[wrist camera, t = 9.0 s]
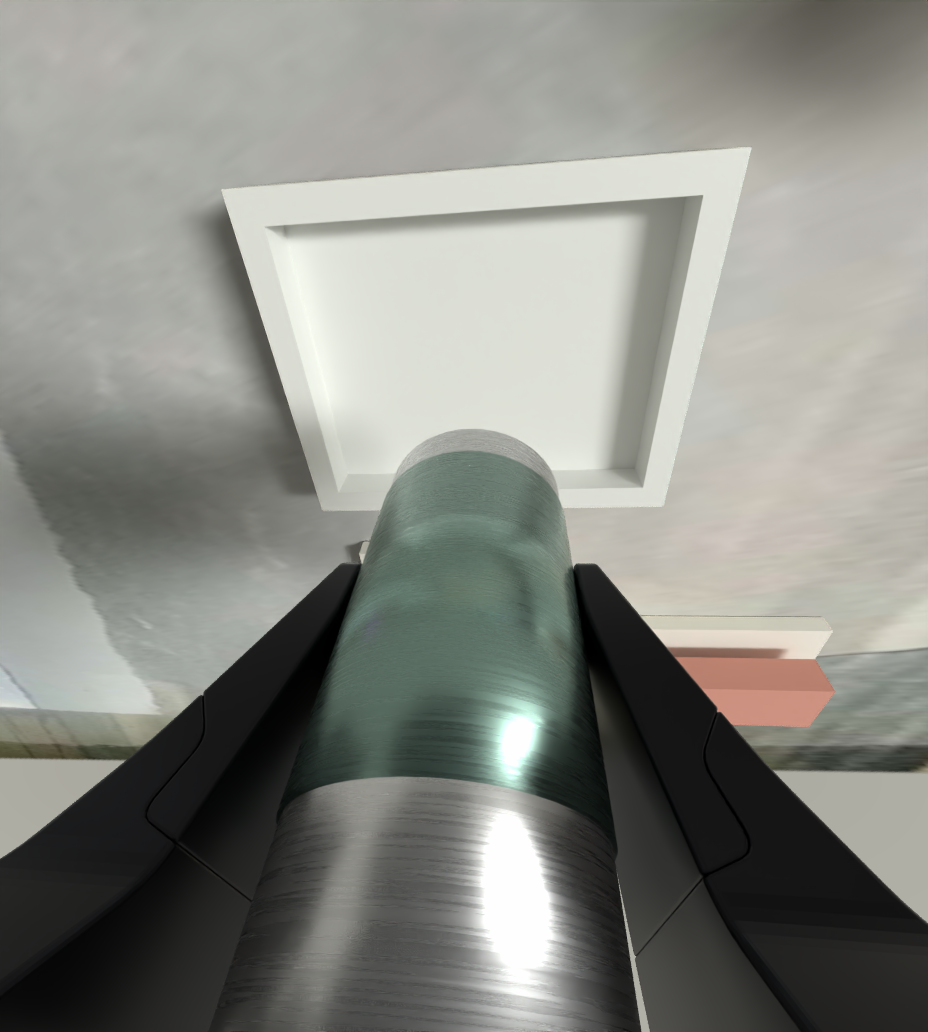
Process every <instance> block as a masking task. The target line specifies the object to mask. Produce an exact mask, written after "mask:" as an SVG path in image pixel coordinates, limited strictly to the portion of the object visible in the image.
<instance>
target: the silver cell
mask: <svg viewBox="0 0 928 1032" xmlns="http://www.w3.org/2000/svg"><path fill="white" fill-rule="evenodd" d="M276 823H277V828H276V831H275V834H274V837H273V840H272V843H271V846H270V849H269V852H268V855H267V858H266V861H265V864H264V867H263V870H262V873H261V876H260V879H259V882H258V885H257V888H256V891H255V894H254V896H253V899H252V902H251V905H250V908H249V911H248V914H247V917H246V920H245V923H244V926H243V929H242V932H241V935H240V938H239V941H238V944H237V947H236V950H235V953H234V956H233V959H232V962H231V965H230V968H229V971H228V974H227V977H226V980H225V983H224V986H223V989H222V992H221V995H220V998H219V1001H218V1004H217V1007H216V1010H215V1013H214V1016H213V1019H212V1022H211V1025H210V1028H209V1031H208V1032H641V1026H640V1020H639V1013H638V1007H637V1000H636V994H635V987H634V981H633V974H632V968H631V961H630V955H629V948H628V942H627V935H626V929H625V922H624V916H623V909H622V903H621V896H620V890H619V883H618V876H617V870H616V863H615V860H616V857H617V854H618V847H617V840H616V834H615V828H614V821H613V815H612V809H611V803H610V797H609V790H608V784H607V778H606V772H605V765H604V759H603V753H602V747H601V740H600V734H599V728H598V722H597V715H596V709H595V703H594V697H593V691H592V684H591V678H590V672H589V666H588V659H587V653H586V647H585V641H584V634H583V628H582V622H581V616H580V609H579V603H578V597H577V591H576V585H575V578H574V572H573V566H572V560H571V553H570V547H569V541H568V535H567V528H566V522H565V516H564V511H563V508H562V505H561V502H560V499H559V493H558V486H557V483H556V480H555V477H554V475H553V473H552V471H551V469H550V467H549V466H548V465H547V463H546V462H545V460H544V459H543V458H542V457H541V456H540V455H539V454H538V453H537V452H536V451H535V450H533V449H532V448H531V447H529V446H528V445H527V444H525V443H523V442H522V441H520V440H518V439H516V438H514V437H511V436H509V435H506V434H503V433H500V432H496V431H491V430H485V429H459V430H454V431H449V432H445V433H442V434H439V435H436V436H434V437H432V438H430V439H427V440H425V441H424V442H422V443H421V444H419V445H418V446H416V447H415V448H414V449H413V450H412V451H411V452H410V453H409V454H408V455H407V456H406V457H405V458H404V460H403V461H402V462H401V464H400V466H399V467H398V469H397V472H396V474H395V476H394V479H393V482H392V485H391V488H390V489H389V491H388V492H387V494H386V497H385V499H384V502H383V505H382V508H381V510H380V513H379V516H378V519H377V522H376V525H375V528H374V531H373V534H372V537H371V540H370V543H369V546H368V548H367V551H366V554H365V557H364V560H363V563H362V566H361V569H360V572H359V575H358V578H357V581H356V583H355V586H354V589H353V592H352V595H351V598H350V601H349V604H348V607H347V610H346V613H345V616H344V619H343V621H342V624H341V627H340V630H339V633H338V636H337V639H336V642H335V645H334V648H333V651H332V654H331V656H330V659H329V662H328V665H327V668H326V671H325V674H324V677H323V680H322V683H321V686H320V689H319V692H318V694H317V697H316V700H315V703H314V706H313V709H312V712H311V715H310V718H309V721H308V724H307V727H306V729H305V732H304V735H303V738H302V741H301V744H300V747H299V750H298V753H297V756H296V759H295V762H294V765H293V767H292V770H291V773H290V776H289V779H288V782H287V785H286V788H285V791H284V794H283V797H282V800H281V802H280V805H279V808H278V811H277V814H276Z"/></svg>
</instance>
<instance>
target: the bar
mask: <svg viewBox="0 0 928 1032" xmlns="http://www.w3.org/2000/svg"><path fill="white" fill-rule="evenodd" d="M675 658H676V659H677V660H678V661H679V662H680V664H681V665H682V666H683V667H684V668H685V670H686V671H687V672H688V673H689V674H690V676H691V677H692V678H693V679H694V680H695V681H696V683H697V684H698V685H699V686H700V687H701V689H702V690H703V691H704V692H705V693H706V695H707V696H708V697H709V698H710V699H711V701H712V702H713V703H714V704H715V705H716V706H717V708H718V710H717V712H722V713H723V714H724V716H725V717H726V718H727V719H728V721H729V722H730V723H731V724H732V725H763V726H799V727H809V726H810V725H811V723H812V722H813V721H814V719H815V718H816V717H817V715H818V714H819V713H820V711H821V710H822V709H823V707H824V706H825V705H826V703H827V702H828V701H829V699H830V698H831V697H832V696H833V694H834V693H835V690H834V689H833V687H832V686H831V684H830V682H829V681H828V679H827V678H826V676H825V674H824V673H823V671H822V670H821V668H820V666H819V665H818V663H817V661H816V660H815V659H767V658H703V657H675Z"/></svg>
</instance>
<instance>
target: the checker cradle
mask: <svg viewBox="0 0 928 1032" xmlns="http://www.w3.org/2000/svg"><path fill="white" fill-rule="evenodd" d="M369 543H370V542H363V544H362V547H361V550H360V553H359V556H360V559H361V563H363V560H364V557H365V554H366V551H367V548H368V546H369ZM641 617H642V619H643V620H644V621H645V622H646V623H647V624H648V626H649V627H650V628H651V629H652V630H653V632H654V633H655V634H656V635H657V636H658V638H659V639H660V640H661V641H662V642H663V643H664V645H665V646H666V647H667V648H668V649H669V651H670V652H671V653H672V654H673V655H674V657H703V658H767V659H815V658H816V656H817V655H818V653H819V652H820V650H821V649H822V647H823V646H824V644H825V643H826V641H827V640H828V638H829V637H830V635H831V634H832V632H833V631H832V629H831V628H830V626H829V625H828V623H827V622H826V620H825V619H824V618H823V617H727V616H641Z"/></svg>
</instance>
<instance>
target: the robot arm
mask: <svg viewBox="0 0 928 1032" xmlns="http://www.w3.org/2000/svg"><path fill="white" fill-rule="evenodd" d="M361 566H362V564H361V563H342V564H340V565H339V566H338V567H337V568H336V569H335V570H334V571H333V572H332V573H330V574H329V575H328V576H327V577H326V578H325V579H324V580H323V581H322V582H321V583H320V584H319V585H318V586H317V587H315V588H314V589H313V590H312V591H311V592H310V593H309V594H308V595H307V596H306V597H305V598H304V599H303V600H302V601H300V602H299V603H298V604H297V605H296V606H295V607H294V608H293V609H292V610H291V611H290V612H289V613H288V614H287V615H285V616H284V617H283V618H282V619H281V620H280V621H279V622H278V623H277V624H276V625H275V626H274V627H273V628H272V629H270V630H269V631H268V632H267V633H266V634H265V635H264V636H263V637H262V638H261V639H260V640H259V641H258V642H257V643H255V644H254V645H253V646H252V647H251V648H250V649H249V650H248V651H247V652H246V653H245V654H244V655H243V656H242V657H240V658H239V659H238V660H237V661H236V662H235V663H234V664H233V665H232V666H231V667H230V668H229V669H228V670H227V671H225V672H224V673H223V674H222V675H221V676H220V677H219V678H218V679H217V680H216V681H215V682H214V683H213V684H211V685H210V686H209V687H208V688H207V689H206V690H205V691H204V693H203V695H200V696H198V697H197V698H196V699H195V700H194V701H193V702H192V703H191V704H190V705H189V706H188V707H187V708H186V709H184V710H183V711H182V712H181V713H180V714H179V715H178V716H177V717H176V718H175V719H173V720H172V721H171V722H170V723H169V724H168V725H167V726H166V727H165V728H163V729H162V730H161V731H160V732H159V733H158V734H157V735H156V736H155V737H153V738H152V739H151V740H150V741H149V742H147V743H146V744H145V745H144V746H143V747H141V748H140V749H139V750H138V751H137V752H136V753H134V754H133V755H132V756H131V757H130V758H128V759H127V760H126V761H125V762H124V763H122V764H121V765H120V766H119V767H118V768H116V769H115V770H114V771H113V772H111V773H110V774H109V775H108V776H106V777H105V778H104V779H103V780H101V781H100V782H99V783H98V784H97V785H95V786H94V787H93V788H92V789H90V790H89V791H88V792H87V793H86V794H84V795H83V796H82V797H80V798H79V799H78V800H77V801H76V802H74V803H73V804H72V805H71V806H69V807H68V808H67V809H66V810H64V811H63V812H62V813H61V814H60V815H58V816H57V817H56V818H55V819H53V820H52V821H51V822H50V823H48V824H47V825H46V826H45V827H43V828H42V829H41V830H40V831H38V832H37V833H36V834H35V835H33V836H32V837H31V838H29V839H28V840H27V841H25V842H24V843H23V844H21V845H20V846H19V847H17V848H16V849H14V850H13V851H11V852H10V853H8V854H7V855H5V856H4V857H2V858H1V859H0V1032H208V1031H209V1028H210V1025H211V1022H212V1019H213V1016H214V1013H215V1010H216V1007H217V1004H218V1001H219V998H220V995H221V992H222V989H223V986H224V983H225V980H226V977H227V974H228V971H229V968H230V965H231V962H232V959H233V956H234V953H235V950H236V947H237V944H238V941H239V938H240V935H241V932H242V929H243V926H244V923H245V920H246V917H247V914H248V911H249V908H250V905H251V902H252V899H253V896H254V894H255V891H256V888H257V885H258V882H259V879H260V876H261V873H262V870H263V867H264V864H265V861H266V858H267V855H268V852H269V849H270V846H271V843H272V840H273V837H274V834H275V831H276V828H277V823H276V814H277V811H278V808H279V805H280V802H281V800H282V797H283V794H284V791H285V788H286V785H287V782H288V779H289V776H290V773H291V770H292V767H293V765H294V762H295V759H296V756H297V753H298V750H299V747H300V744H301V741H302V738H303V735H304V732H305V729H306V727H307V724H308V721H309V718H310V715H311V712H312V709H313V706H314V703H315V700H316V697H317V694H318V692H319V689H320V686H321V683H322V680H323V677H324V674H325V671H326V668H327V665H328V662H329V659H330V656H331V654H332V651H333V648H334V645H335V642H336V639H337V636H338V633H339V630H340V627H341V624H342V621H343V619H344V616H345V613H346V610H347V607H348V604H349V601H350V598H351V595H352V592H353V589H354V586H355V583H356V581H357V578H358V575H359V572H360V569H361ZM573 572H574V578H575V585H576V591H577V597H578V603H579V609H580V616H581V622H582V628H583V634H584V641H585V647H586V653H587V659H588V666H589V672H590V678H591V684H592V691H593V697H594V703H595V709H596V715H597V722H598V728H599V734H600V740H601V747H602V753H603V759H604V765H605V772H606V778H607V784H608V790H609V797H610V803H611V809H612V815H613V821H614V828H615V834H616V840H617V847H618V854H617V857H616V860H615V863H616V869H617V874H618V879H619V884H620V889H621V894H622V898H623V903H624V908H625V912H626V918H627V922H628V927H629V932H630V937H631V942H632V947H633V951H634V955H635V956H637V957H636V958H635V962H636V967H637V971H638V976H639V981H640V986H641V990H642V996H643V1000H644V1005H645V1010H646V1015H647V1020H648V1024H649V1029H650V1032H928V923H927V922H926V921H925V920H923V919H922V918H921V917H920V916H919V915H918V914H917V913H915V912H914V911H913V910H912V909H911V908H910V907H908V906H907V905H906V904H905V903H904V902H903V901H902V900H901V899H900V898H899V897H898V896H897V895H896V894H895V893H894V892H893V891H892V890H891V889H889V888H888V887H887V886H886V885H885V884H884V883H883V882H882V881H881V880H880V879H879V878H878V877H877V876H876V875H875V874H874V873H873V872H872V871H871V870H870V869H869V868H868V867H867V866H866V865H865V864H864V863H863V862H862V861H861V860H860V859H859V858H858V857H857V856H856V855H855V854H854V853H853V852H852V851H851V850H850V849H849V848H848V847H847V846H846V845H845V844H844V843H843V842H842V841H841V840H840V839H839V838H838V837H837V835H835V834H834V833H833V832H832V830H831V829H829V827H828V826H827V825H825V823H824V822H823V821H822V820H820V819H819V817H818V816H817V815H816V814H815V813H813V811H812V810H811V809H810V808H809V807H808V806H807V805H806V804H805V803H803V801H802V800H801V799H800V798H799V797H798V796H797V795H796V794H795V793H794V792H793V791H792V790H791V789H790V788H789V787H788V786H787V785H786V784H785V783H784V782H783V781H782V780H781V779H780V778H779V777H778V776H777V775H776V774H775V772H774V771H773V770H772V769H771V768H770V767H769V766H768V765H767V764H766V763H765V762H764V761H763V760H762V758H761V757H760V756H759V755H758V754H757V753H756V752H755V751H754V749H753V748H752V747H751V746H750V745H749V744H748V743H747V741H746V740H745V739H744V738H743V737H742V736H741V735H740V734H739V732H738V731H737V730H736V729H735V728H734V726H733V725H732V724H731V723H730V722H729V721H728V719H727V718H726V717H725V716H724V714H723V713H722V712H717V710H718V708H717V706H716V705H715V704H714V703H713V702H712V701H711V699H710V698H709V697H708V696H707V695H706V693H705V692H704V691H703V690H702V689H701V687H700V686H699V685H698V684H697V683H696V681H695V680H694V679H693V678H692V677H691V676H690V674H689V673H688V672H687V671H686V670H685V668H684V667H683V666H682V665H681V664H680V662H679V661H678V660H677V659H676V658H675V657H674V655H673V654H672V653H671V652H670V651H669V649H668V648H667V647H666V646H665V645H664V643H663V642H662V641H661V640H660V639H659V638H658V636H657V635H656V634H655V633H654V632H653V630H652V629H651V628H650V627H649V626H648V624H647V623H646V622H645V621H644V620H643V619H642V617H641V616H640V615H639V614H638V613H637V611H636V610H635V609H634V608H633V607H632V605H631V604H630V603H629V602H628V601H627V599H626V598H625V597H624V596H623V595H622V594H621V592H620V591H619V590H618V589H617V588H616V586H615V585H614V584H613V583H612V582H611V580H610V579H609V578H608V577H607V576H606V575H605V573H604V572H603V571H602V570H601V569H600V567H599V566H598V565H596V564H579V563H578V564H576V565H575V566H574V569H573Z"/></svg>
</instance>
